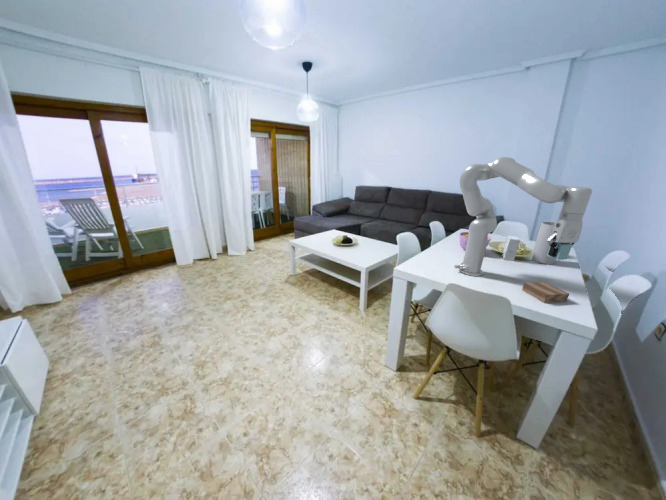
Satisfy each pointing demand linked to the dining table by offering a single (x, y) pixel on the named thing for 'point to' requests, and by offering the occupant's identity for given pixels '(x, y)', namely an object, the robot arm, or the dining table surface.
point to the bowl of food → (464, 239)
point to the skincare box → (510, 248)
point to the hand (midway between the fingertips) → (557, 255)
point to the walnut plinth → (545, 292)
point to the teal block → (562, 251)
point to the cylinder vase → (543, 244)
